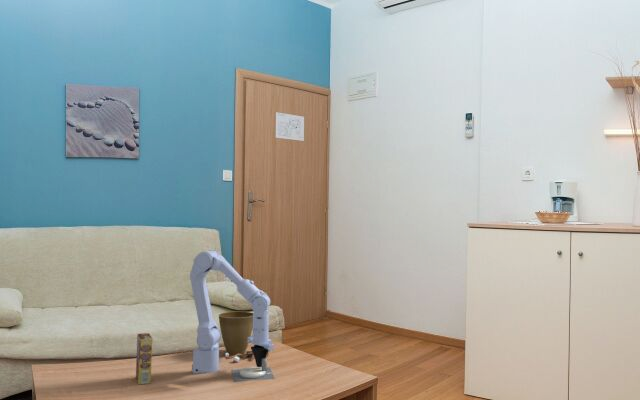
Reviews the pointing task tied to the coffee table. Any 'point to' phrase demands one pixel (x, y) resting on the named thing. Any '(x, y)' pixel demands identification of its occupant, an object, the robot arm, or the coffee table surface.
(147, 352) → the candy box
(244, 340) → the plant pot
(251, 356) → the character figurine
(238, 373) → the stand plate
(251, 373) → the dial
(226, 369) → the coffee table surface
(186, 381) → the coffee table surface
